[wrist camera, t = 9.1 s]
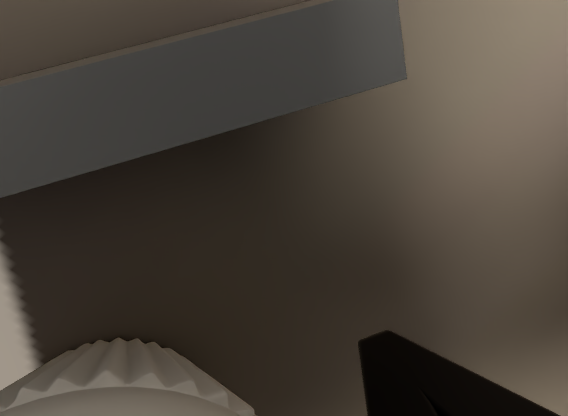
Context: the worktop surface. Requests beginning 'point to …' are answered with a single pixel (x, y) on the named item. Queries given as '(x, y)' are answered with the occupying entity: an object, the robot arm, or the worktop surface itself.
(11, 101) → the frame
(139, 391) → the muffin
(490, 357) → the worktop surface
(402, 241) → the worktop surface
